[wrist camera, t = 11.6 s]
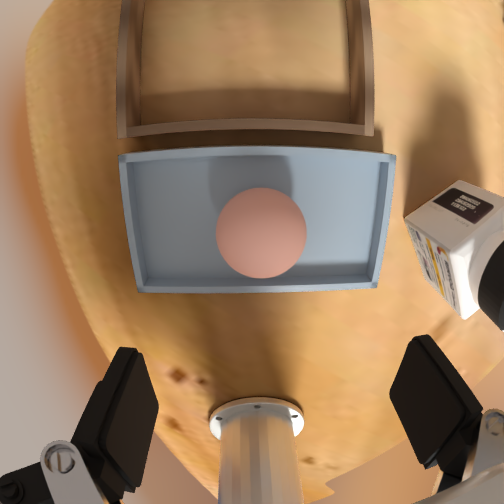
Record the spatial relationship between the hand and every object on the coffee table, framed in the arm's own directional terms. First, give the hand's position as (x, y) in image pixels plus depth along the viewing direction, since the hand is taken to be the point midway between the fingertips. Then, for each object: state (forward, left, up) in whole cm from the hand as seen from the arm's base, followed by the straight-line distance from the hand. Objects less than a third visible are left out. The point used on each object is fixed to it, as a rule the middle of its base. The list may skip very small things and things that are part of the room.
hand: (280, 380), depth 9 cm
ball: (+1, 0, -15) cm, 15 cm away
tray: (+1, 0, -15) cm, 15 cm away
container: (0, -18, -16) cm, 24 cm away
